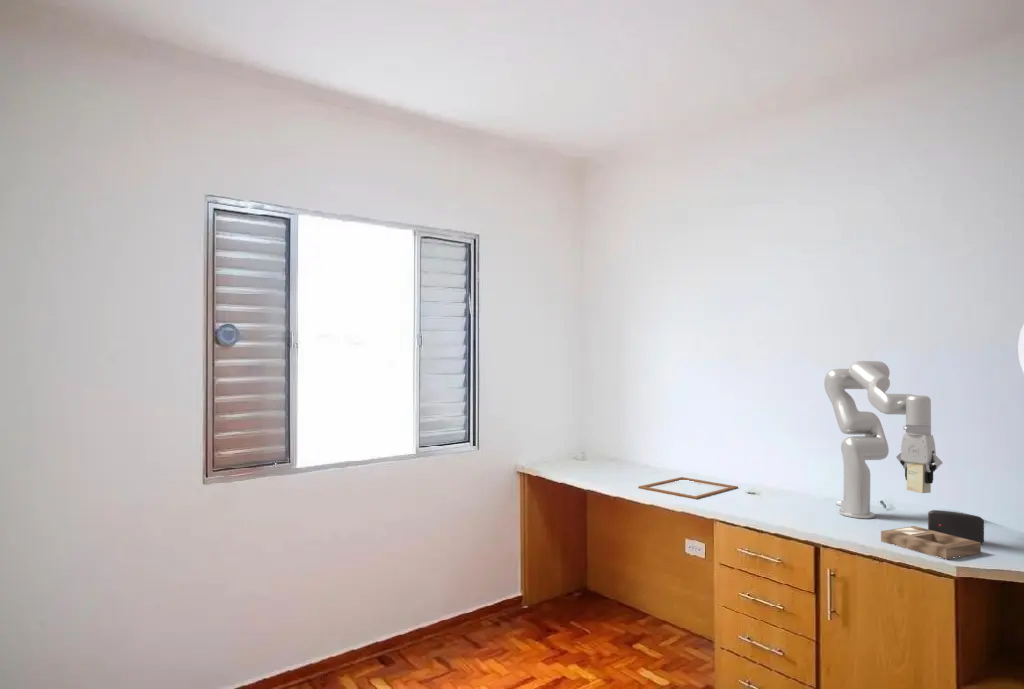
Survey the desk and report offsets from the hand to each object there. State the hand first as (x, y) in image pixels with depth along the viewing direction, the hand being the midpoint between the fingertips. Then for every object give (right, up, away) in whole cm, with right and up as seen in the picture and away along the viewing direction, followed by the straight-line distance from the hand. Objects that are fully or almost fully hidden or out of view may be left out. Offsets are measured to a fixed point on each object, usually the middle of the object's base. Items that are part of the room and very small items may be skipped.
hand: (918, 481), depth 230 cm
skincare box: (0, -4, 0) cm, 4 cm away
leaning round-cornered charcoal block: (+12, -21, -2) cm, 24 cm away
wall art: (-59, -21, +82) cm, 103 cm away
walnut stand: (-3, -20, -10) cm, 23 cm away
